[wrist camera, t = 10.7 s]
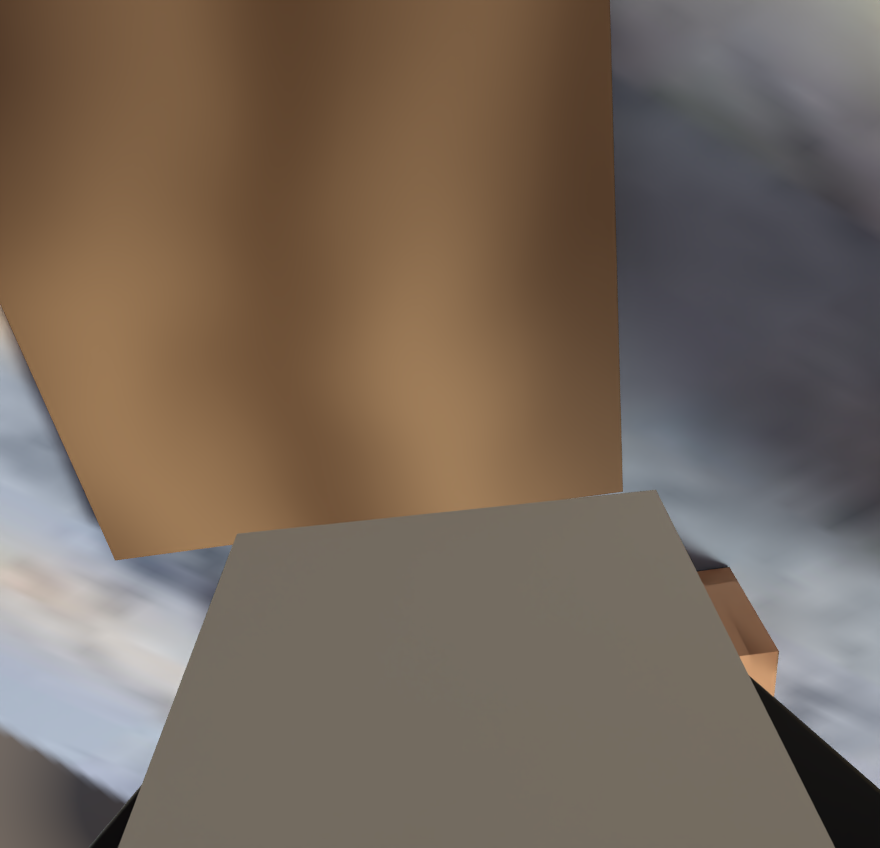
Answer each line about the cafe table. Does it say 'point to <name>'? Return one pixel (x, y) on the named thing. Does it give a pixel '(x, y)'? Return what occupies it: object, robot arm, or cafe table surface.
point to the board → (313, 256)
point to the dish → (742, 626)
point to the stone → (470, 694)
